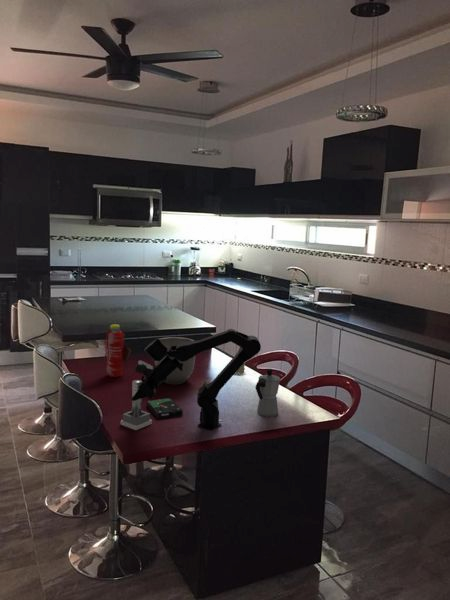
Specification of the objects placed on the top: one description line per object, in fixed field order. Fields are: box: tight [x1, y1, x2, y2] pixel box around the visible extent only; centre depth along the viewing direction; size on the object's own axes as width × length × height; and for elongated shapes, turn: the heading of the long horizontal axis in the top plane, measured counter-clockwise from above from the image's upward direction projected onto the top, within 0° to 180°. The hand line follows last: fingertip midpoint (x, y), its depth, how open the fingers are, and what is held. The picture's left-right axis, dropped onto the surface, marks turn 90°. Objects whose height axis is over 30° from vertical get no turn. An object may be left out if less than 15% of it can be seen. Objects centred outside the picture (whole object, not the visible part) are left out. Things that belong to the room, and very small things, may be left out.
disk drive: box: [146, 397, 184, 420], centre depth 202 cm, size 10×3×15 cm
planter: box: [154, 336, 197, 386], centre depth 237 cm, size 20×20×19 cm
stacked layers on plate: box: [236, 362, 246, 374], centre depth 259 cm, size 10×9×6 cm
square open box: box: [120, 410, 153, 431], centre depth 187 cm, size 8×8×4 cm
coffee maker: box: [255, 368, 281, 417], centre depth 202 cm, size 15×9×18 cm, turn 141°
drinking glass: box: [131, 379, 143, 417], centre depth 186 cm, size 3×3×13 cm
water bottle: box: [104, 323, 132, 378], centre depth 243 cm, size 12×8×25 cm, turn 116°
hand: (133, 398), depth 186 cm, fingers closed on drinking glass, 3 cm apart
